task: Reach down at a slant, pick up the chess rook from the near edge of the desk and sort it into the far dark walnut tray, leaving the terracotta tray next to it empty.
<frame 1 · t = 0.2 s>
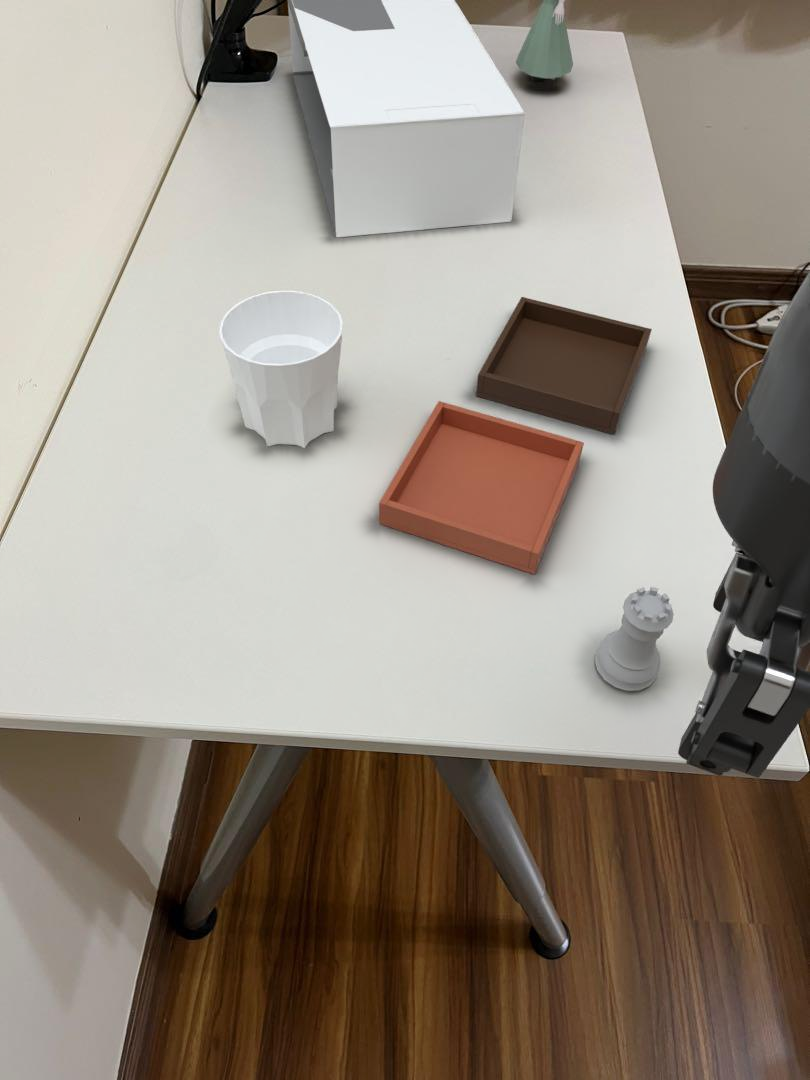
hand: (719, 679, 39), 18 cm above the table, tool pointing down, fingers open, 8 cm apart
cup: (292, 418, 77), on the table
walnut tray: (563, 372, 81), on the table
terracotta tray: (482, 492, 71), on the table
character figurine: (541, 82, 124), on the table
white box: (389, 140, 111), on the table
rook chess piece: (624, 668, 61), on the table
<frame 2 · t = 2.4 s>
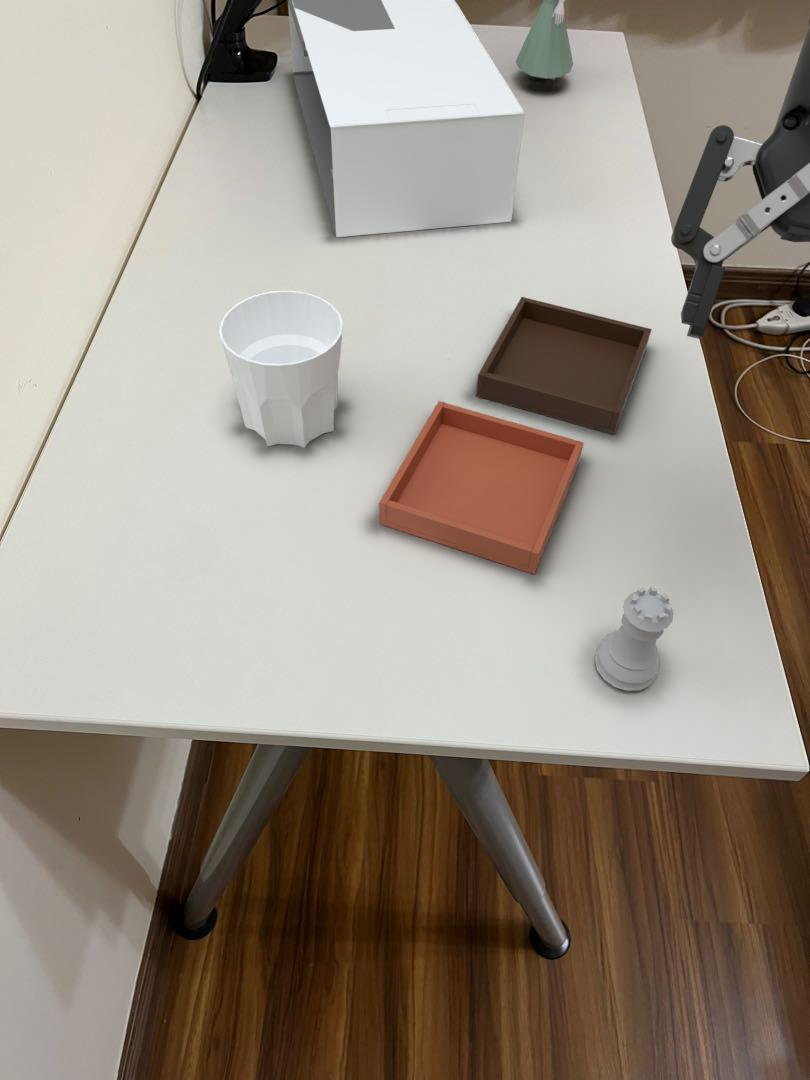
hand: (772, 357, 46), 23 cm above the table, tool tilted 40°, fingers open, 8 cm apart
nothing on the table moved.
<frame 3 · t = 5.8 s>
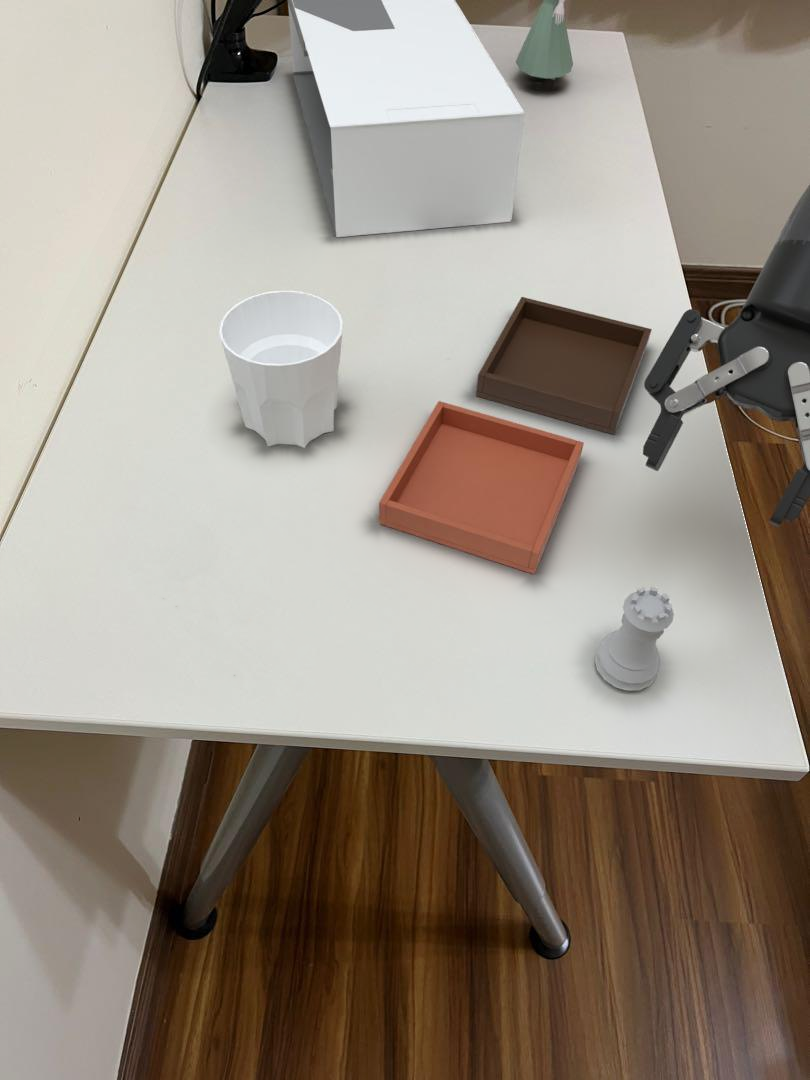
hand: (711, 495, 56), 11 cm above the table, tool tilted 45°, fingers open, 8 cm apart
nothing on the table moved.
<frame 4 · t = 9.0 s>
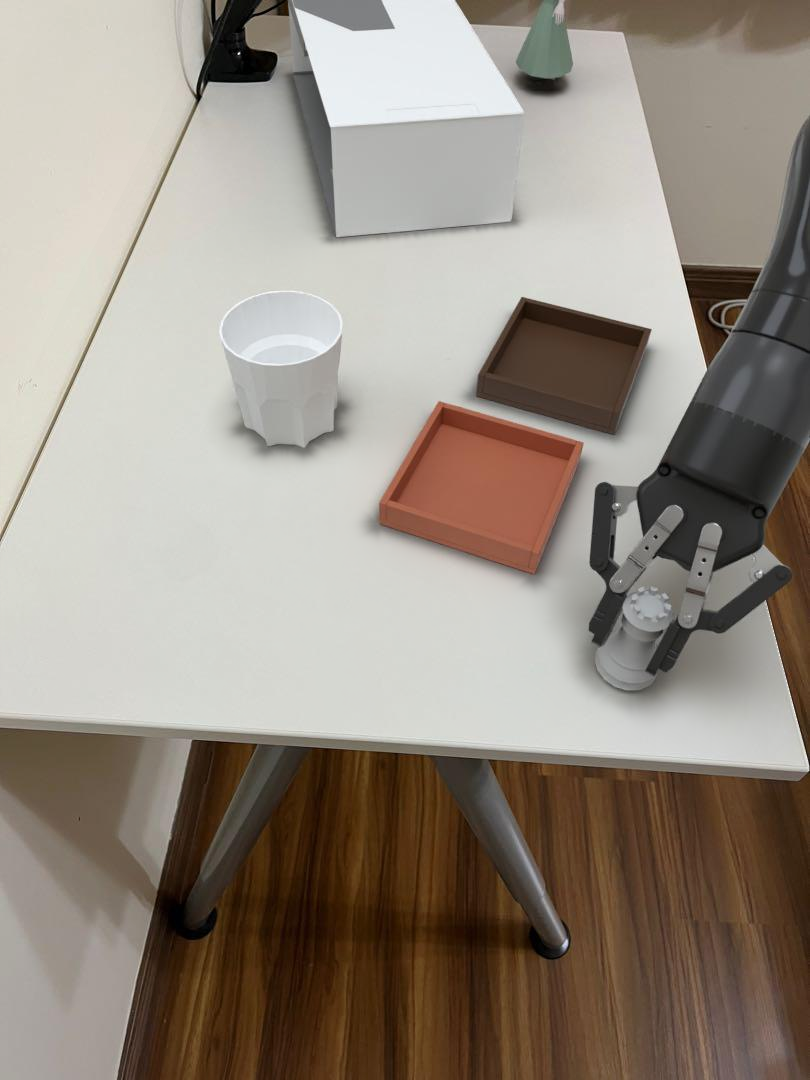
hand: (625, 657, 57), 4 cm above the table, tool tilted 45°, fingers closed on rook chess piece, 3 cm apart
rook chess piece: (624, 668, 61), on the table, touching gripper
everything else where it was.
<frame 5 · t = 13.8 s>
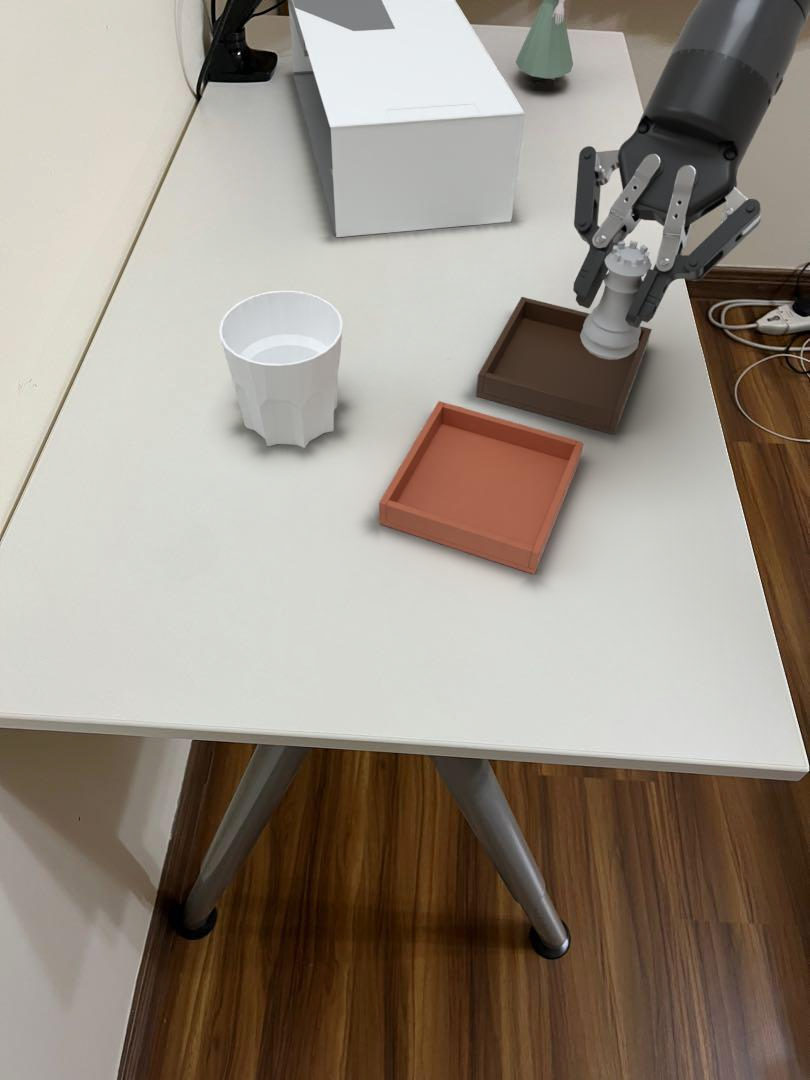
hand: (607, 313, 61), 16 cm above the table, tool tilted 45°, fingers closed on rook chess piece, 3 cm apart
rook chess piece: (607, 345, 65), point 12 cm above the table, touching gripper
everything else where it was.
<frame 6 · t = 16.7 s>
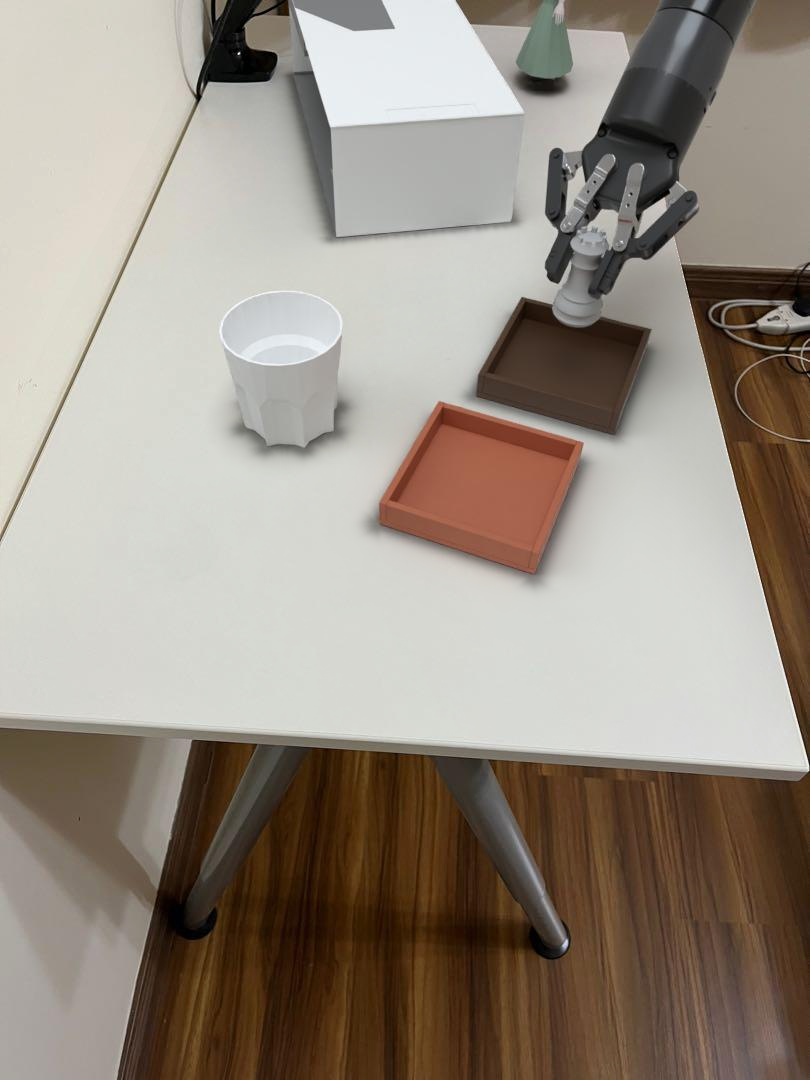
hand: (573, 287, 72), 11 cm above the table, tool tilted 45°, fingers closed on rook chess piece, 3 cm apart
rook chess piece: (575, 316, 77), point 6 cm above the table, touching gripper
everything else where it was.
when the fingers open (5 cm above the table, at t = 18.7 s): rook chess piece stays where it is, resting on walnut tray.
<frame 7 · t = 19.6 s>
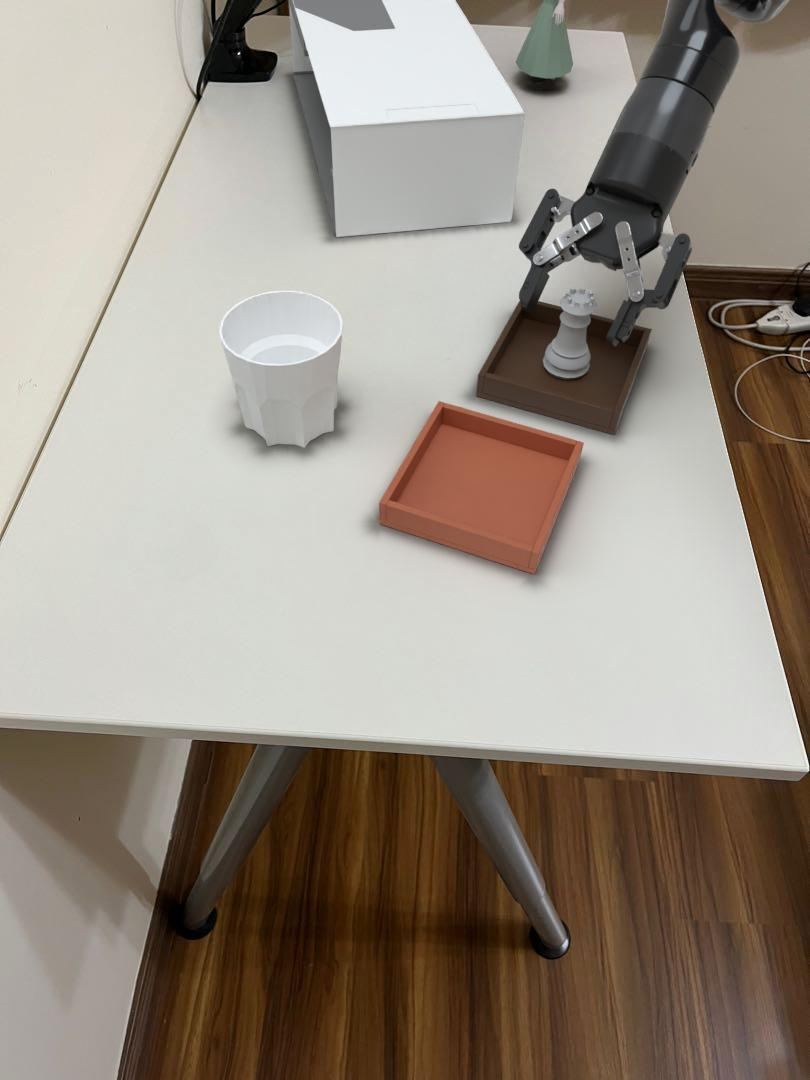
hand: (567, 326, 76), 6 cm above the table, tool tilted 45°, fingers open, 8 cm apart
rook chess piece: (564, 368, 81), resting on walnut tray
everything else where it was.
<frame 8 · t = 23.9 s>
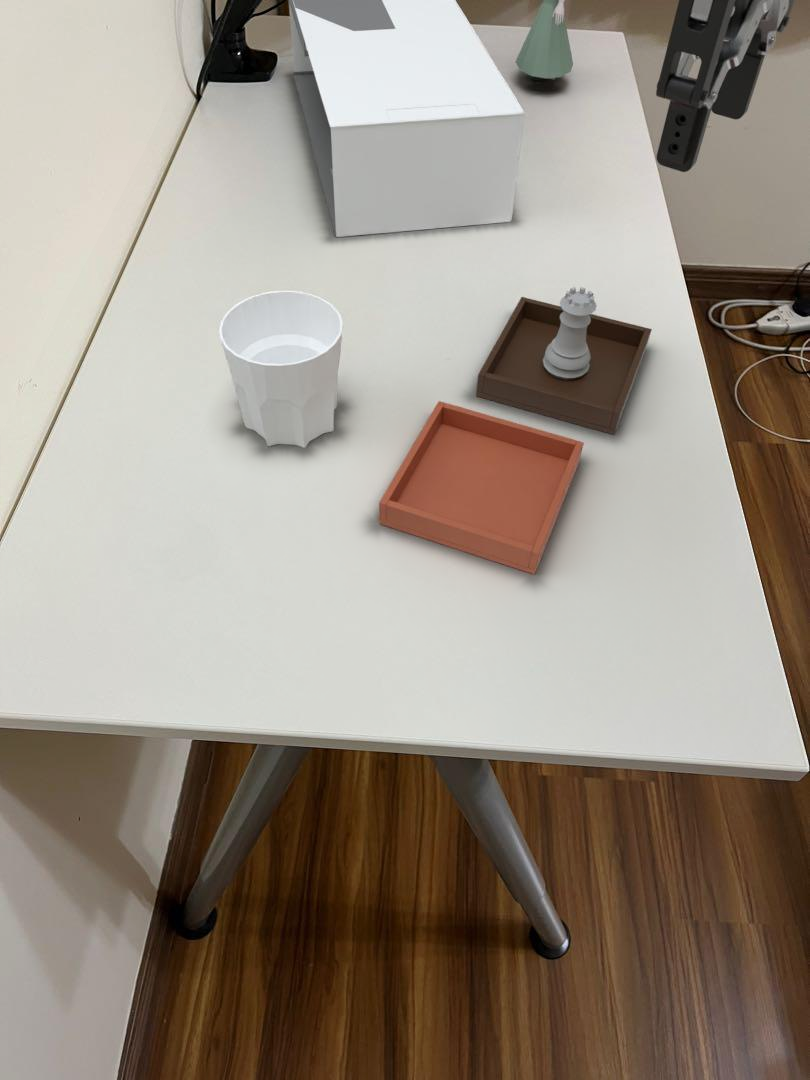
hand: (701, 139, 52), 28 cm above the table, tool pointing down, fingers open, 8 cm apart
nothing on the table moved.
at the end: rook chess piece inside the target area in the walnut tray (0.2 cm from its centre), point 0.4 cm above the walnut tray's base; rook chess piece tilted 0°; the gripper is holding nothing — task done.
